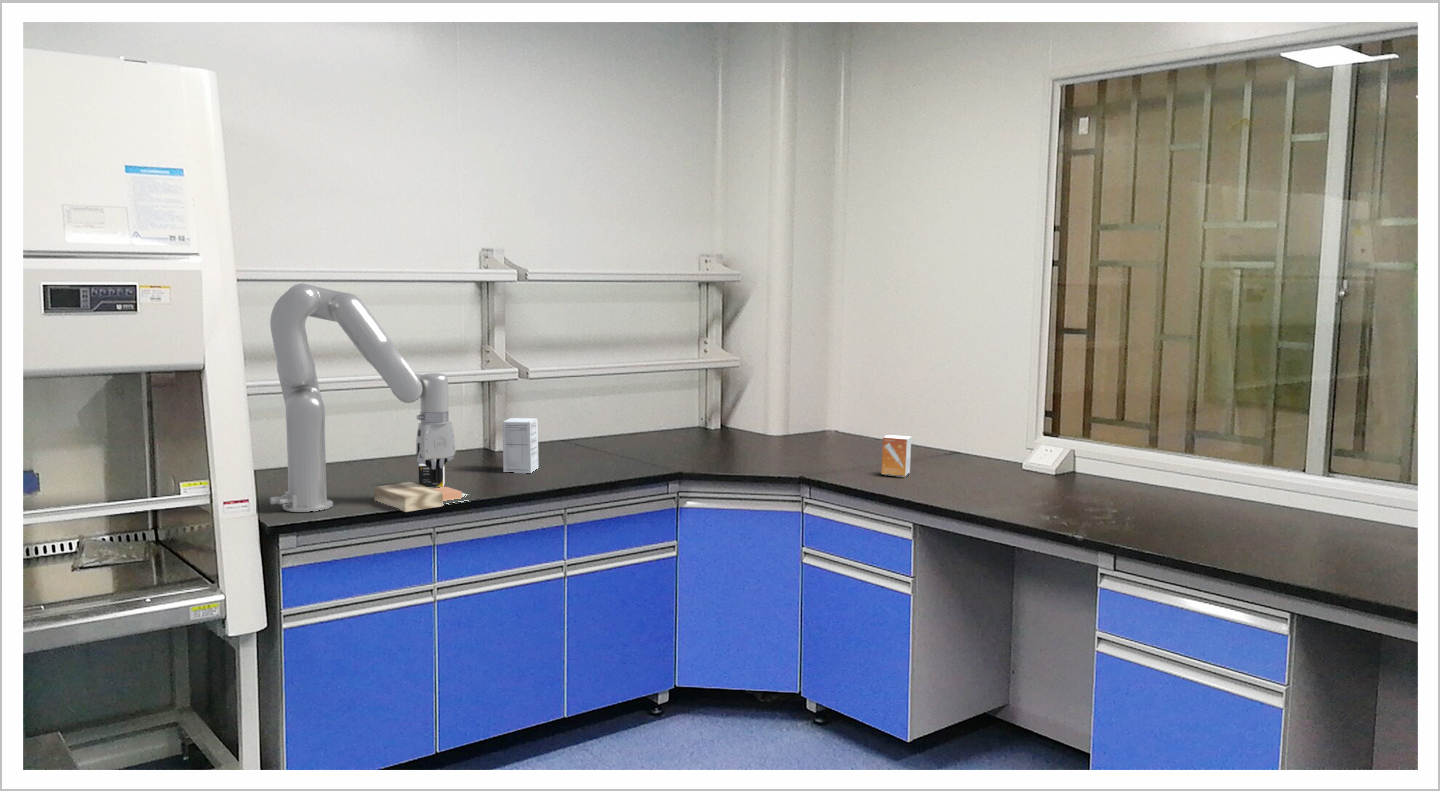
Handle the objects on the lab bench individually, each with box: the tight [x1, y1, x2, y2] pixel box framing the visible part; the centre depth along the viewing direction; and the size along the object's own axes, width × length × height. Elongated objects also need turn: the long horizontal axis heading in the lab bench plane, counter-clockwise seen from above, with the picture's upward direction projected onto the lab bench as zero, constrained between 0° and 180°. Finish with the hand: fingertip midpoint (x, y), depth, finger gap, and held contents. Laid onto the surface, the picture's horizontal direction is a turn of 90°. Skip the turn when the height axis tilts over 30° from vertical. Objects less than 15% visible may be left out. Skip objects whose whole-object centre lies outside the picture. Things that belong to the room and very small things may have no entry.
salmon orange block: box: [432, 486, 463, 501], centre depth 302 cm, size 9×6×2 cm, turn 43°
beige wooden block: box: [373, 481, 444, 513], centre depth 295 cm, size 11×18×4 cm, turn 44°
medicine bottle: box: [417, 459, 446, 489], centre depth 319 cm, size 7×7×12 cm
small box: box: [880, 434, 912, 476], centre depth 347 cm, size 8×6×13 cm
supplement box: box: [502, 417, 539, 474], centre depth 345 cm, size 10×9×17 cm
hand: (435, 482), depth 300 cm, fingers closed
